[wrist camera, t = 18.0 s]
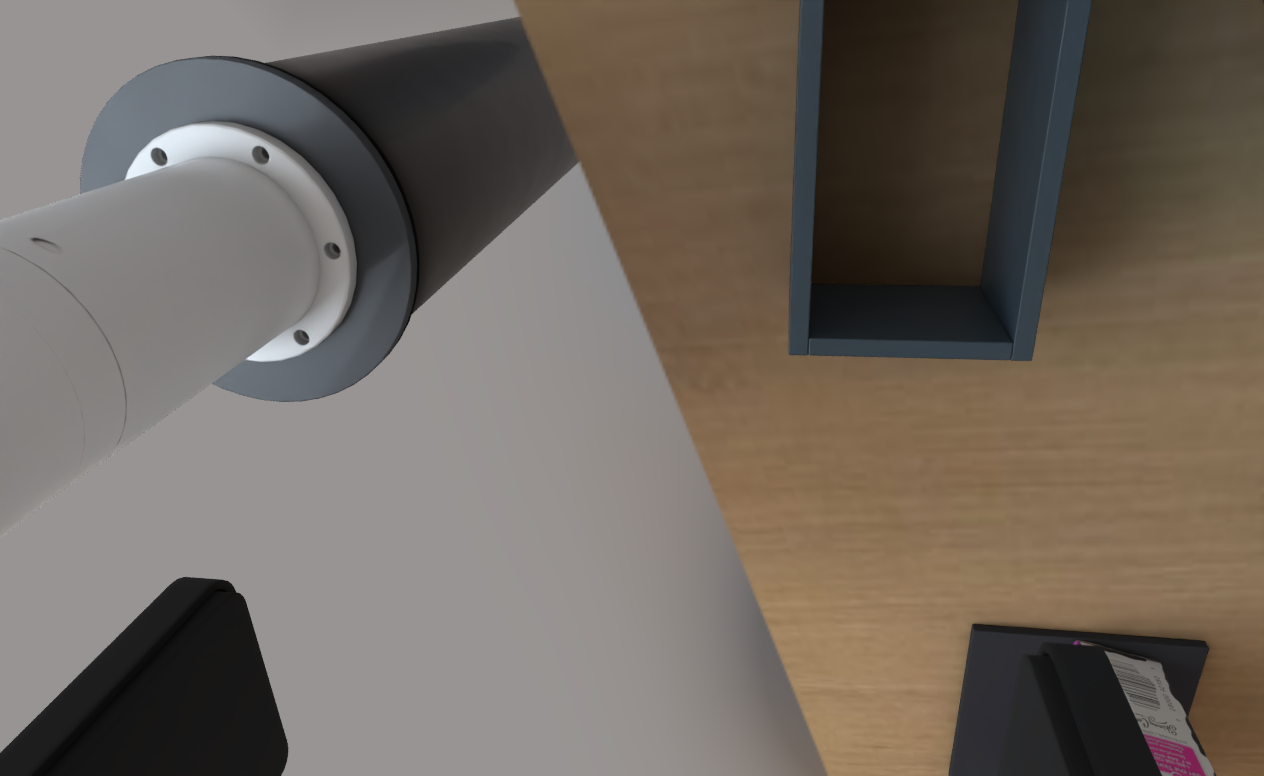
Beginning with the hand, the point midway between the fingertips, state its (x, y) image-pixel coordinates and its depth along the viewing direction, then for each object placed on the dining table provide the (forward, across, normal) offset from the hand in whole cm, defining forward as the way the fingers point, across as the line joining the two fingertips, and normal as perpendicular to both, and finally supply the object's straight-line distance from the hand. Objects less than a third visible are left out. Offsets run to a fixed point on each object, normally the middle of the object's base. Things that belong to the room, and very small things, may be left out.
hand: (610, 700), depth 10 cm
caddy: (+33, -7, -1) cm, 34 cm away
